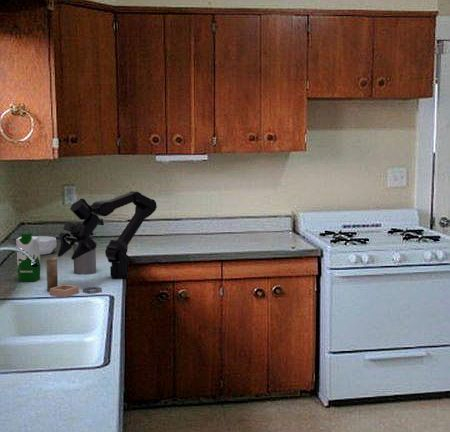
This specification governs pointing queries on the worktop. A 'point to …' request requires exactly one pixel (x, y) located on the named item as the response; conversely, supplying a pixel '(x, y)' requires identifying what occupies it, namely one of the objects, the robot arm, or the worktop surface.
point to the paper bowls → (46, 244)
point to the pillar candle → (85, 262)
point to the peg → (51, 272)
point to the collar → (64, 290)
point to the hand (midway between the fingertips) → (65, 257)
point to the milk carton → (23, 262)
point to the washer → (97, 289)
